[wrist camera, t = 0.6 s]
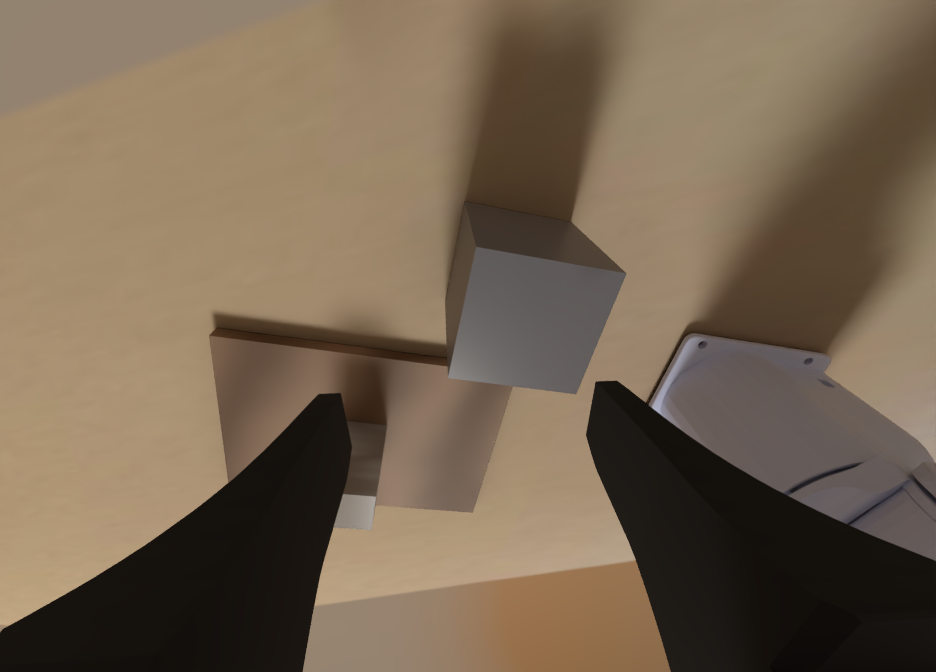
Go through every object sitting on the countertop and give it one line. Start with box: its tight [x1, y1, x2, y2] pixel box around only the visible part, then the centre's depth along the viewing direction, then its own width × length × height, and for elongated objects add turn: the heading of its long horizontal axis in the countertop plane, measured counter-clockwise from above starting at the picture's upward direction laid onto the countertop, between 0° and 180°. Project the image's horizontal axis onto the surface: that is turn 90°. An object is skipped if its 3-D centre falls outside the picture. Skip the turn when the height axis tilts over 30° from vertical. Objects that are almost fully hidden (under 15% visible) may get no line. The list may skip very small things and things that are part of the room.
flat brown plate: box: [209, 328, 513, 530], centre depth 23 cm, size 16×12×6 cm
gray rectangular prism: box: [445, 202, 626, 394], centre depth 17 cm, size 5×5×7 cm
